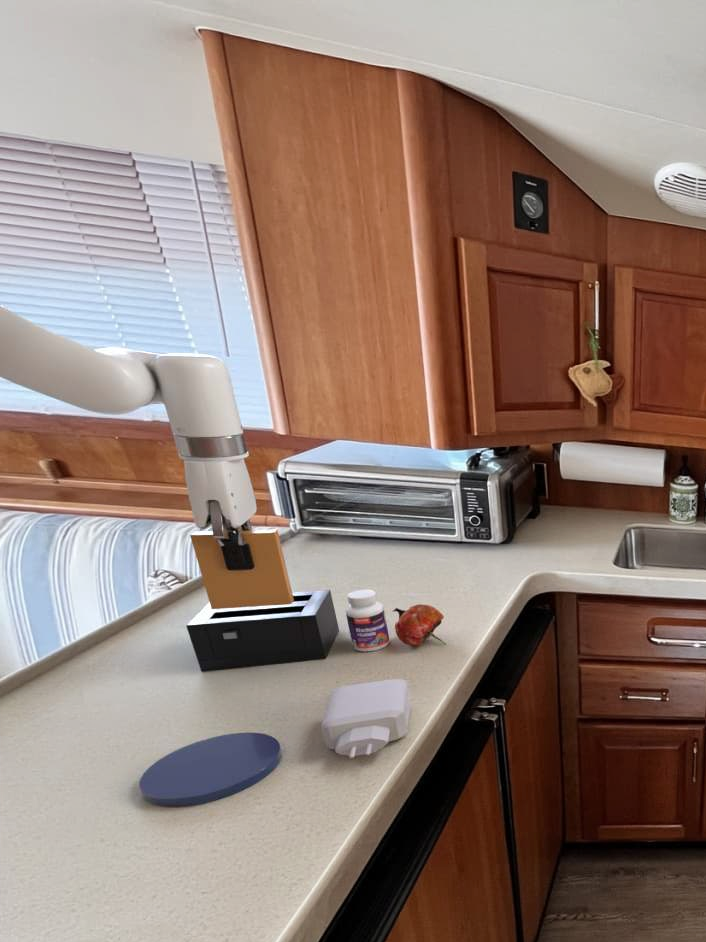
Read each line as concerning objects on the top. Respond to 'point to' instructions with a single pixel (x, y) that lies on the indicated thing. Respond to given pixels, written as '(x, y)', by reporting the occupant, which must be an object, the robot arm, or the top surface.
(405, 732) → the charger
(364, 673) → the top surface
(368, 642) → the pill bottle
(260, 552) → the toast
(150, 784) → the plate
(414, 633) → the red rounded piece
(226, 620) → the toaster
